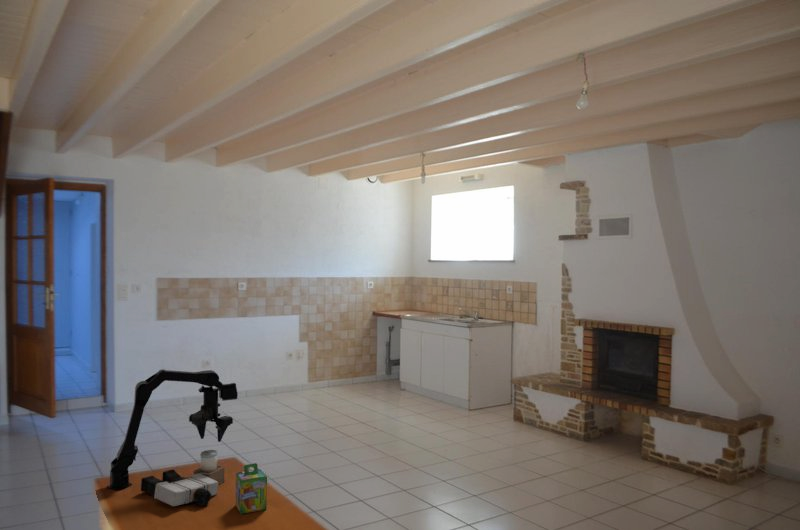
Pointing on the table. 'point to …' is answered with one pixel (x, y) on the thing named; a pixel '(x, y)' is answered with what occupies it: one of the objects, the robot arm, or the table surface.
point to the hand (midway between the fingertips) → (210, 440)
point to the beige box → (213, 474)
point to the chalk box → (251, 490)
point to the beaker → (209, 460)
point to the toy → (180, 488)
